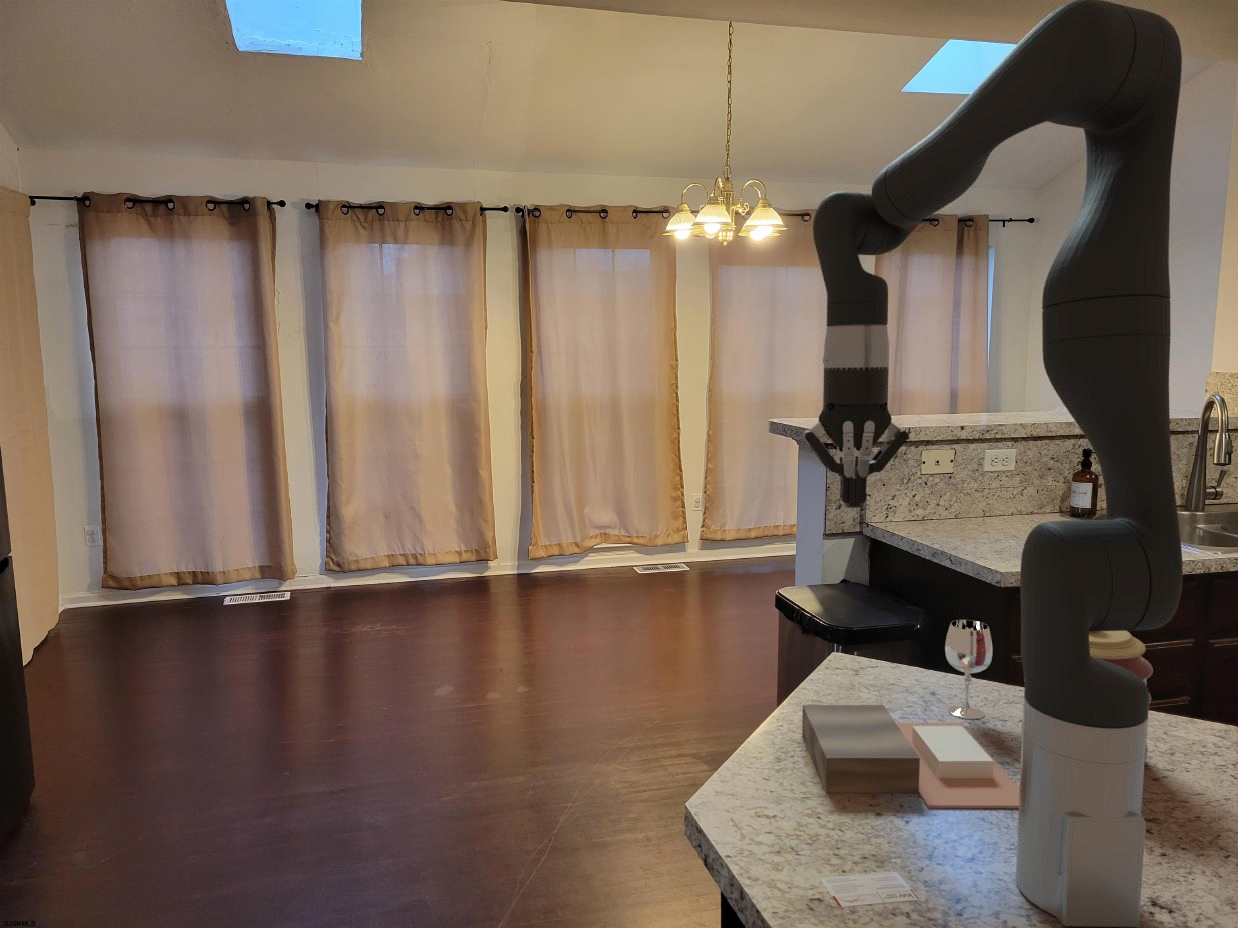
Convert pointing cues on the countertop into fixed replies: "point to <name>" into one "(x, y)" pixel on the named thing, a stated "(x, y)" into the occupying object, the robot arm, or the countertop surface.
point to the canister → (1121, 654)
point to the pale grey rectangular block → (952, 752)
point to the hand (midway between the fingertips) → (853, 506)
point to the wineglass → (968, 658)
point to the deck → (859, 749)
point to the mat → (962, 782)
